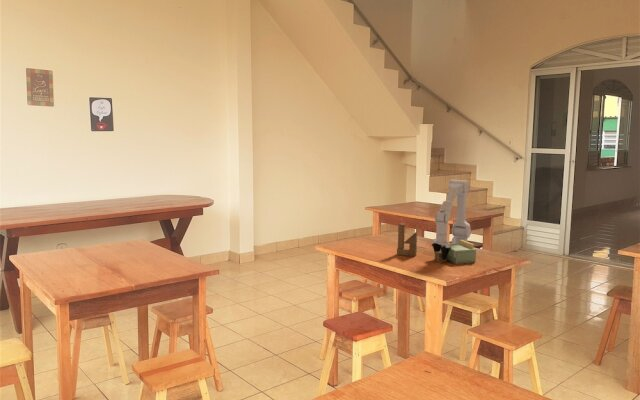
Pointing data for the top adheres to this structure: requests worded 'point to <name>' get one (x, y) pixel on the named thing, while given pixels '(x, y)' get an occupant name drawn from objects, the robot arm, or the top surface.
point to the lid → (460, 248)
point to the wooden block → (406, 242)
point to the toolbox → (463, 257)
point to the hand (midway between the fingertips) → (440, 257)
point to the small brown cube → (439, 257)
